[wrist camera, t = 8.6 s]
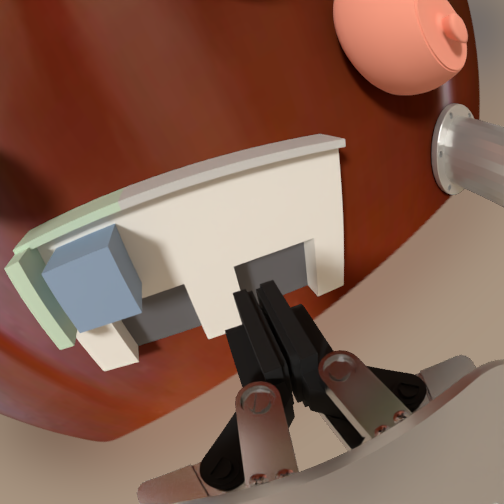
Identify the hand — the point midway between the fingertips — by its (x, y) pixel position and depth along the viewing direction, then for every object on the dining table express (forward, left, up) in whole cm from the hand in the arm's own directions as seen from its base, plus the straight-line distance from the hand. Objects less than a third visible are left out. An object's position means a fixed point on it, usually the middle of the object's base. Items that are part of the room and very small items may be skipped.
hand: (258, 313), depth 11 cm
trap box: (+2, +3, -12) cm, 13 cm away
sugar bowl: (-19, -14, -12) cm, 27 cm away
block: (+9, 0, -10) cm, 13 cm away
